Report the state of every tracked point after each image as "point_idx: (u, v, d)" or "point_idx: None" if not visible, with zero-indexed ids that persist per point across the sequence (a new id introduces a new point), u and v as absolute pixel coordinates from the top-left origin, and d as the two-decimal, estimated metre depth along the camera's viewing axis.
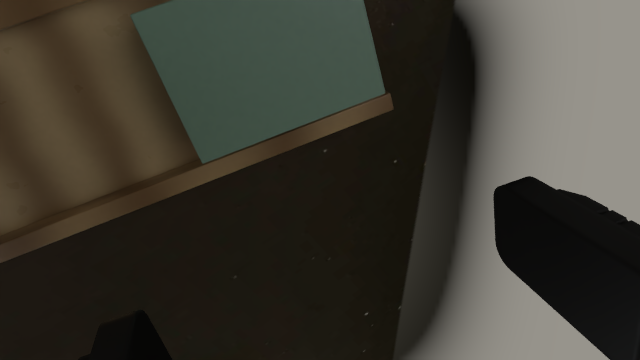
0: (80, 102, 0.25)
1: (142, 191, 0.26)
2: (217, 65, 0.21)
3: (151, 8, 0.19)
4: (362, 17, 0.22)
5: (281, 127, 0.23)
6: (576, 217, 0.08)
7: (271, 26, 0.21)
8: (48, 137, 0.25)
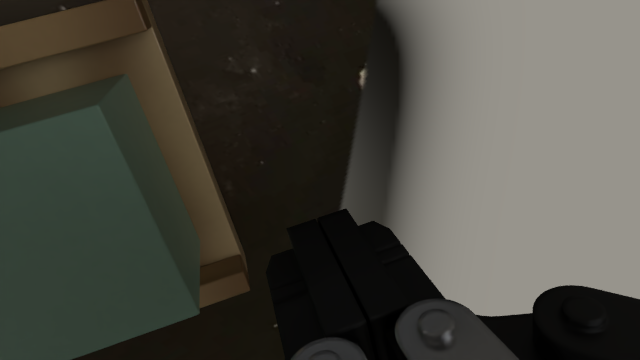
0: None
1: None
2: None
3: None
4: (142, 217, 0.13)
5: None
6: (353, 253, 0.08)
7: None
8: None
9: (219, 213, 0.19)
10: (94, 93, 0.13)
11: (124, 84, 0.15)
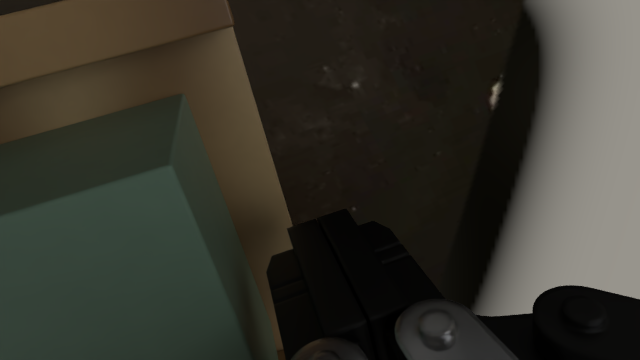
0: None
1: None
2: None
3: None
4: (231, 347, 0.08)
5: None
6: (353, 253, 0.08)
7: None
8: None
9: None
10: (148, 132, 0.08)
11: (185, 112, 0.10)
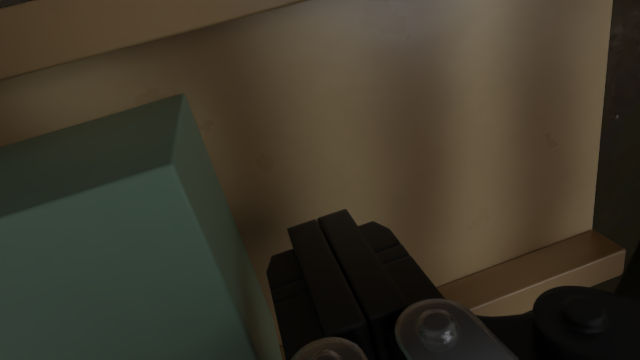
0: None
1: None
2: None
3: None
4: (234, 343, 0.08)
5: None
6: (353, 253, 0.08)
7: None
8: None
9: (592, 176, 0.15)
10: (149, 132, 0.08)
11: (186, 111, 0.10)
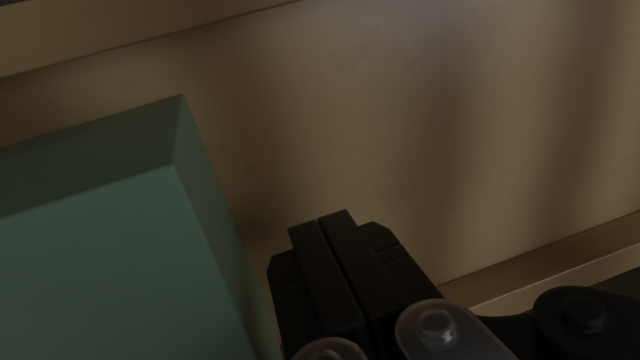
0: (248, 195, 0.12)
1: None
2: None
3: None
4: (235, 343, 0.08)
5: None
6: (353, 253, 0.08)
7: None
8: None
9: None
10: (149, 133, 0.08)
11: (185, 112, 0.10)
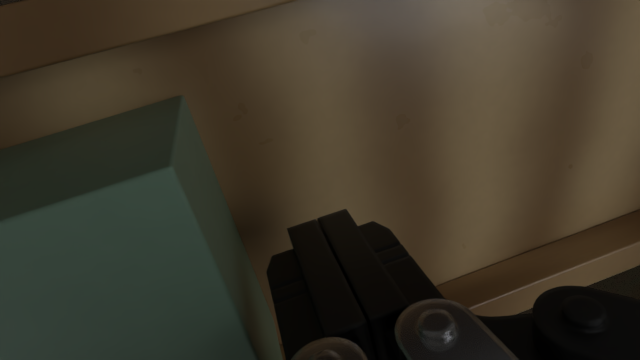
0: (396, 147, 0.13)
1: None
2: None
3: None
4: (234, 344, 0.08)
5: None
6: (353, 253, 0.08)
7: None
8: (321, 210, 0.13)
9: None
10: (148, 134, 0.08)
11: (185, 113, 0.10)
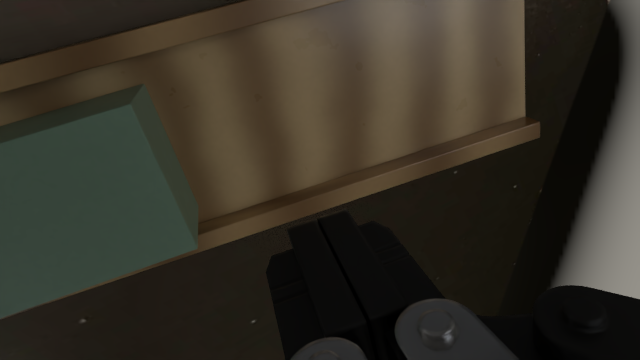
0: (256, 111, 0.25)
1: (302, 203, 0.26)
2: None
3: None
4: (158, 178, 0.20)
5: (72, 286, 0.21)
6: (353, 253, 0.08)
7: (45, 191, 0.19)
8: (219, 144, 0.25)
9: (522, 83, 0.29)
10: (125, 97, 0.20)
11: (143, 91, 0.22)
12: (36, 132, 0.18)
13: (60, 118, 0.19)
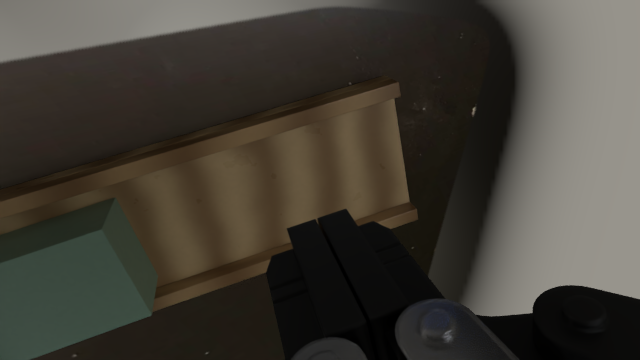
0: (198, 210, 0.34)
1: (234, 273, 0.36)
2: (4, 310, 0.28)
3: None
4: (122, 272, 0.29)
5: (64, 342, 0.30)
6: (353, 253, 0.08)
7: (46, 284, 0.28)
8: (172, 233, 0.35)
9: (404, 179, 0.38)
10: (99, 216, 0.30)
11: (114, 205, 0.31)
12: (40, 249, 0.27)
13: (56, 234, 0.29)
